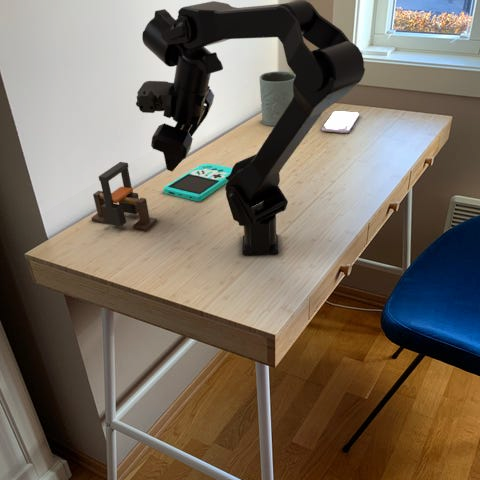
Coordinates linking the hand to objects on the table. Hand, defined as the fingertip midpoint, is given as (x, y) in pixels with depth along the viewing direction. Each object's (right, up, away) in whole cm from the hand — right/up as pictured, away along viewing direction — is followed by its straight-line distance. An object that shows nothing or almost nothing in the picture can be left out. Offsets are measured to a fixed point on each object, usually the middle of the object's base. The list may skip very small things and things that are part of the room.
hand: (177, 155), depth 101 cm
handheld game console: (+4, -1, +17) cm, 18 cm away
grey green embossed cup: (+23, +24, +48) cm, 58 cm away
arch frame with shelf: (-11, -11, +4) cm, 16 cm away
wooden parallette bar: (-11, -12, +5) cm, 17 cm away
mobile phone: (+40, +22, +44) cm, 63 cm away
